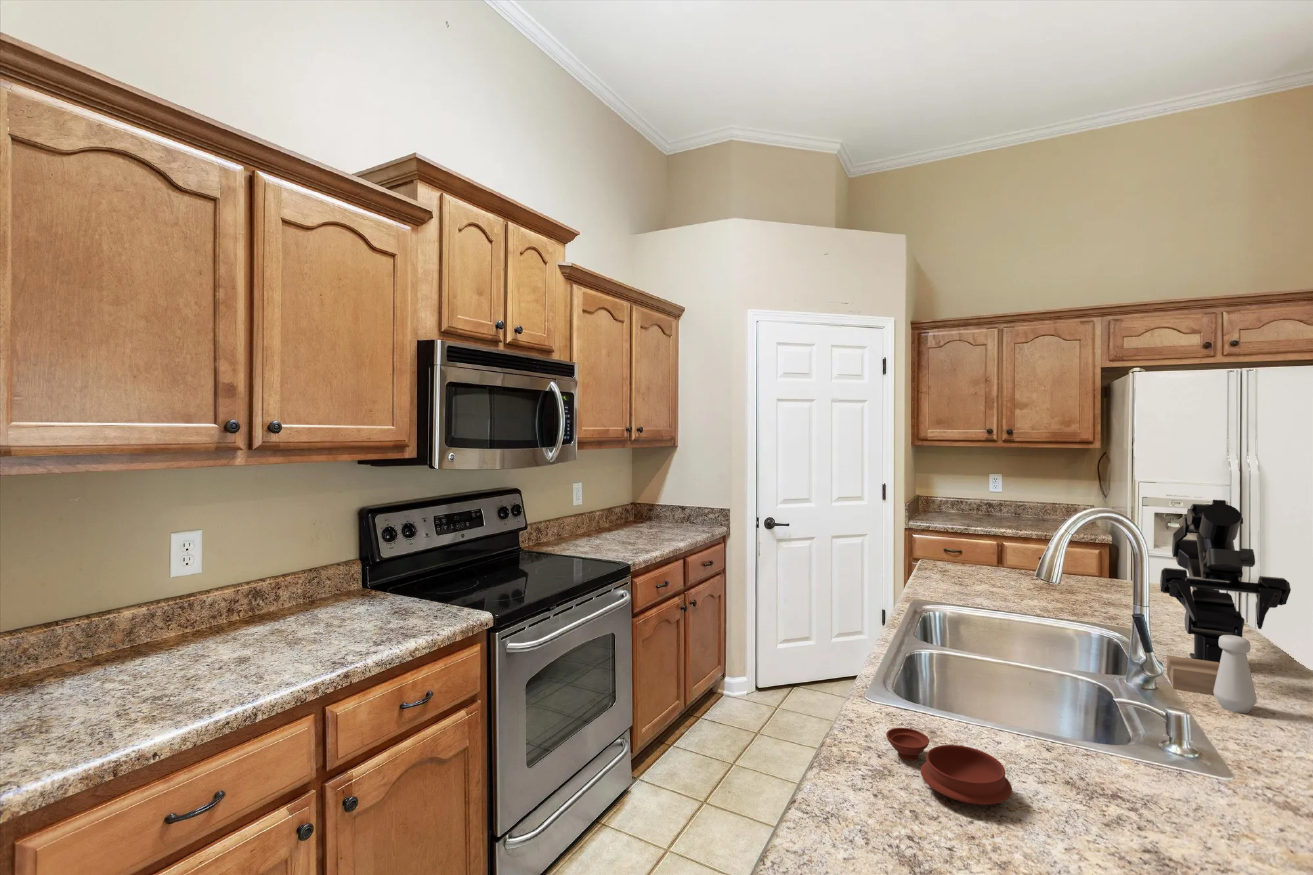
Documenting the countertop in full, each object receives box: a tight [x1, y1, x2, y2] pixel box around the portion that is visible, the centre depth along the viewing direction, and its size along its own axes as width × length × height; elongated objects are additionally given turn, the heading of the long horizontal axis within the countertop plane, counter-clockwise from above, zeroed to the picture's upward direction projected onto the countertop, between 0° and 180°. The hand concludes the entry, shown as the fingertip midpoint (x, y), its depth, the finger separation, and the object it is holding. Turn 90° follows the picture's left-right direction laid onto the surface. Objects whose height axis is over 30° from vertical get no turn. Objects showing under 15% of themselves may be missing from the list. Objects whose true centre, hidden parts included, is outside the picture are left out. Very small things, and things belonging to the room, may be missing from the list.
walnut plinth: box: [1166, 654, 1219, 696], centre depth 123 cm, size 8×8×4 cm
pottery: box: [885, 727, 1013, 805], centre depth 93 cm, size 12×20×4 cm, turn 22°
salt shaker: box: [1213, 635, 1258, 714], centre depth 113 cm, size 6×6×13 cm
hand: (1227, 623), depth 119 cm, fingers open, 9 cm apart
